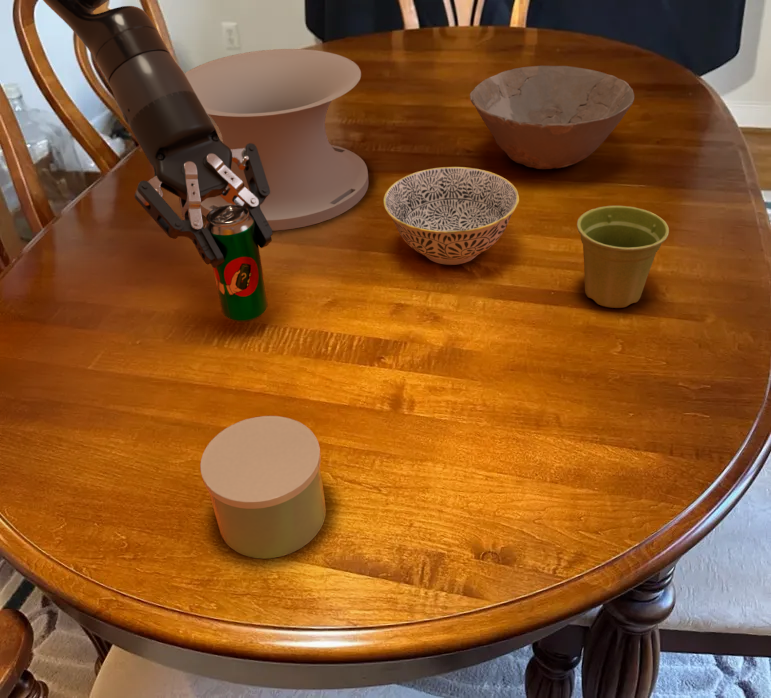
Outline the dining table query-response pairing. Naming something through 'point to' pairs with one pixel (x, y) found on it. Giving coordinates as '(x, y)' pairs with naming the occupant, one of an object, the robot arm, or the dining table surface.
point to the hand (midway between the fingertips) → (243, 253)
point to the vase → (285, 129)
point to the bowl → (451, 211)
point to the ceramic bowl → (551, 112)
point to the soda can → (238, 263)
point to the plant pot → (619, 252)
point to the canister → (265, 485)
